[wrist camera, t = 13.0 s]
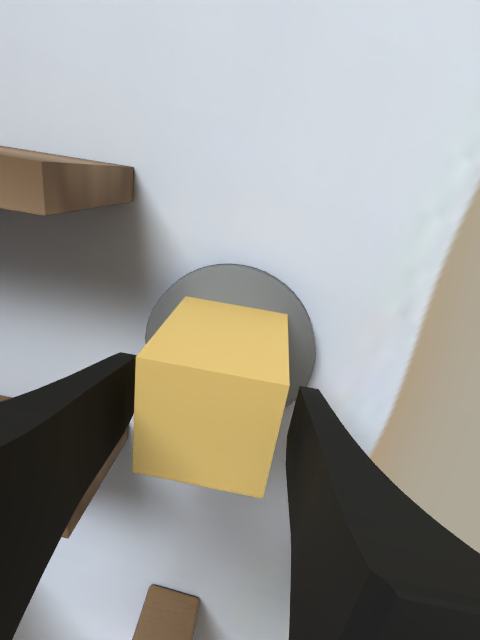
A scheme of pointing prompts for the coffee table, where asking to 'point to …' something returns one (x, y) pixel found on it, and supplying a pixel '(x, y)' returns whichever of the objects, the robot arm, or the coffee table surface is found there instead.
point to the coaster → (252, 292)
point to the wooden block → (167, 615)
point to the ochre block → (212, 396)
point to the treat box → (59, 197)
